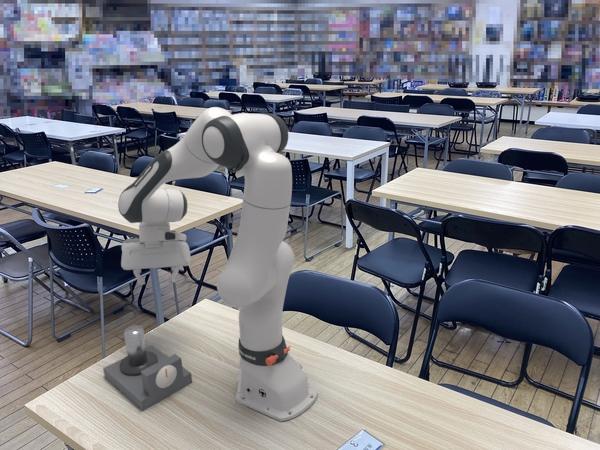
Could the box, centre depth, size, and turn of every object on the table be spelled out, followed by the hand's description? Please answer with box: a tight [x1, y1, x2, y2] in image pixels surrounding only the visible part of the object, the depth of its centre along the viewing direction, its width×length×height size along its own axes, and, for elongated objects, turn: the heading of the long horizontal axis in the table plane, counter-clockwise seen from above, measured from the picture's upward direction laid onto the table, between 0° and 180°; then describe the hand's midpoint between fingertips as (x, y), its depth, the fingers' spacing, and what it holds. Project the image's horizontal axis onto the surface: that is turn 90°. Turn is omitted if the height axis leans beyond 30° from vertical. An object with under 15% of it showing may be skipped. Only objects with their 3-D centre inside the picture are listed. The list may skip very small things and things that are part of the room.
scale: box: [102, 344, 193, 412], centre depth 130 cm, size 20×15×9 cm
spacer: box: [123, 324, 148, 367], centre depth 131 cm, size 5×5×10 cm
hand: (156, 283), depth 140 cm, fingers open, 8 cm apart
